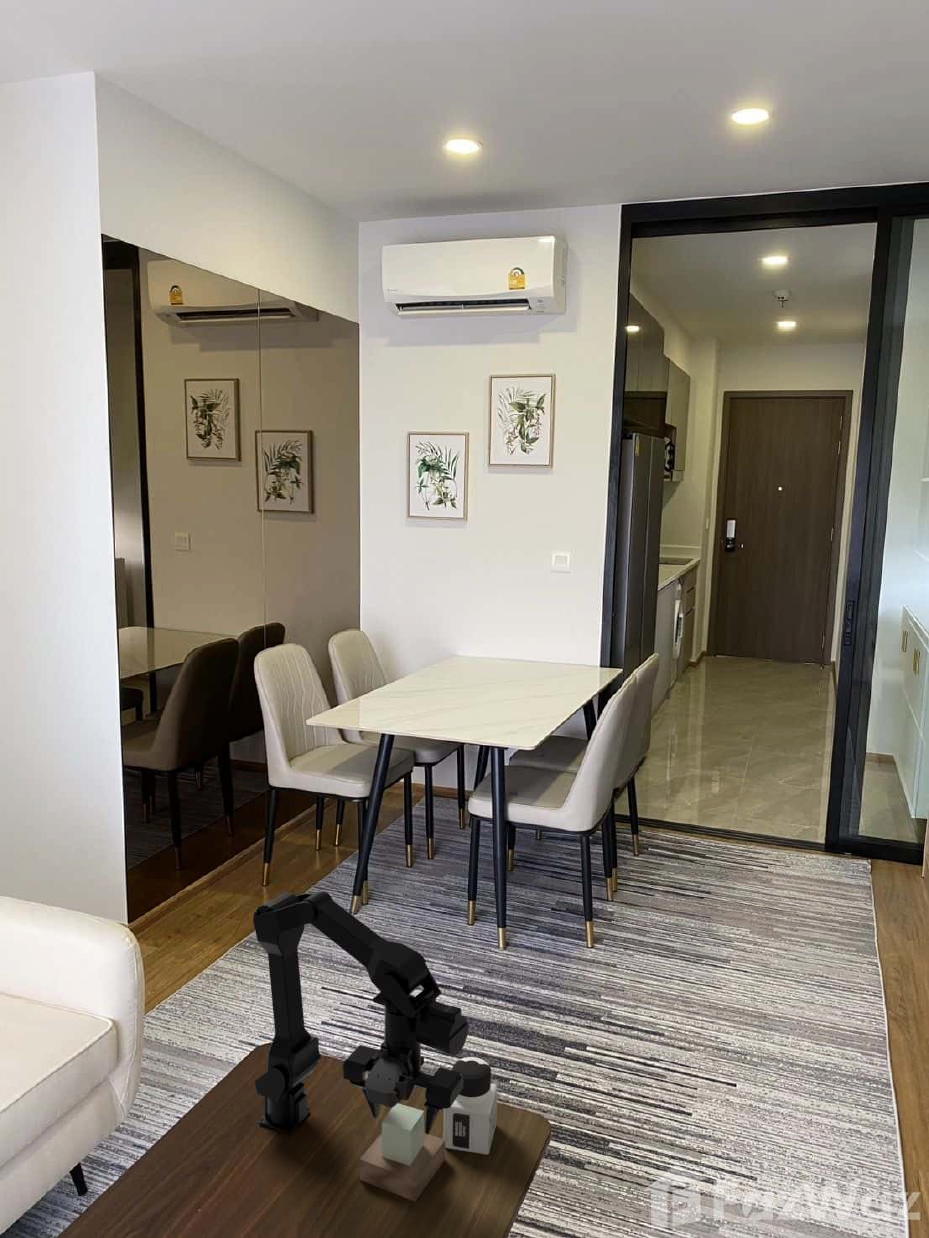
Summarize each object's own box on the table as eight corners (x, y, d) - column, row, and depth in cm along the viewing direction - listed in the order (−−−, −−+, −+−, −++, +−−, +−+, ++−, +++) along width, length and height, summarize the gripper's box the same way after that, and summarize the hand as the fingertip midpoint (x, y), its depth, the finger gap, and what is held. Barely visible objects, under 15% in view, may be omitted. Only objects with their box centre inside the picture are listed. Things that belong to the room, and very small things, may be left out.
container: (488, 1155, 151) (490, 1082, 150) (442, 1148, 153) (443, 1076, 151) (496, 1124, 159) (498, 1054, 157) (452, 1117, 160) (453, 1048, 159)
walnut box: (359, 1181, 146) (359, 1158, 145) (391, 1142, 155) (391, 1120, 154) (415, 1204, 141) (415, 1180, 141) (444, 1162, 150) (445, 1140, 150)
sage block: (381, 1156, 146) (381, 1121, 145) (395, 1136, 150) (395, 1102, 150) (410, 1165, 144) (410, 1130, 143) (423, 1145, 149) (424, 1110, 148)
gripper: (324, 1046, 140) (324, 1140, 143) (435, 1078, 133) (434, 1176, 135) (360, 1009, 151) (359, 1097, 153) (465, 1037, 144) (463, 1128, 146)
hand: (402, 1124), depth 146 cm, fingers open, 9 cm apart
